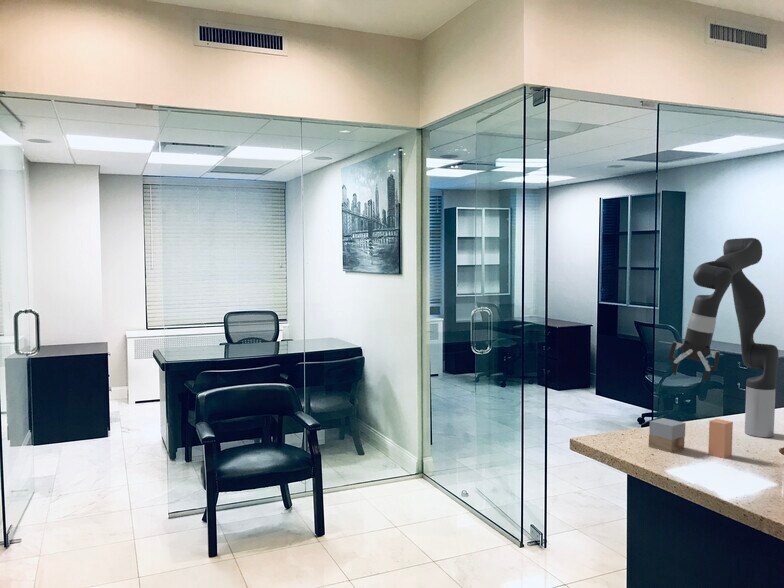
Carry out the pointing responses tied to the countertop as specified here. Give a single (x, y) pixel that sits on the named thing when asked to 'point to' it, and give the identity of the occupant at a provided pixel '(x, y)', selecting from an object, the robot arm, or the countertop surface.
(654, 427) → the tower top slab
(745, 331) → the robot arm
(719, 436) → the pillar
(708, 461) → the countertop surface
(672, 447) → the tower bottom slab
